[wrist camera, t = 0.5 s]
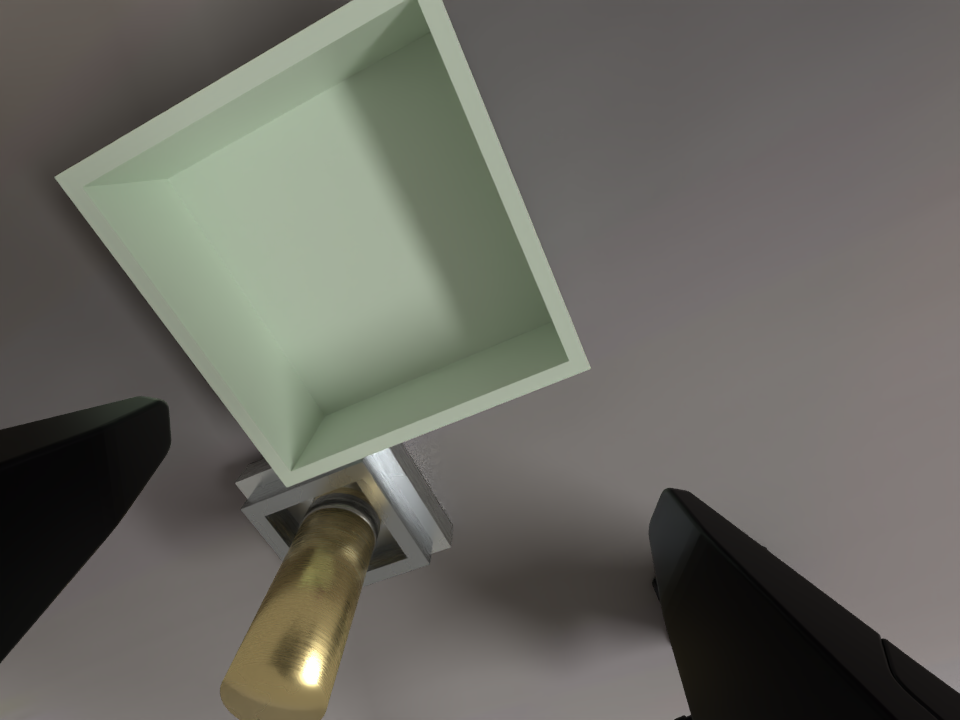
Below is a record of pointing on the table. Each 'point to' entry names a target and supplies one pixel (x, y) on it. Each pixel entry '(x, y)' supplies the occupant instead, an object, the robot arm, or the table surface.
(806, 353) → the table surface
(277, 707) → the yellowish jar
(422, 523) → the socket block
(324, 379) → the bin
